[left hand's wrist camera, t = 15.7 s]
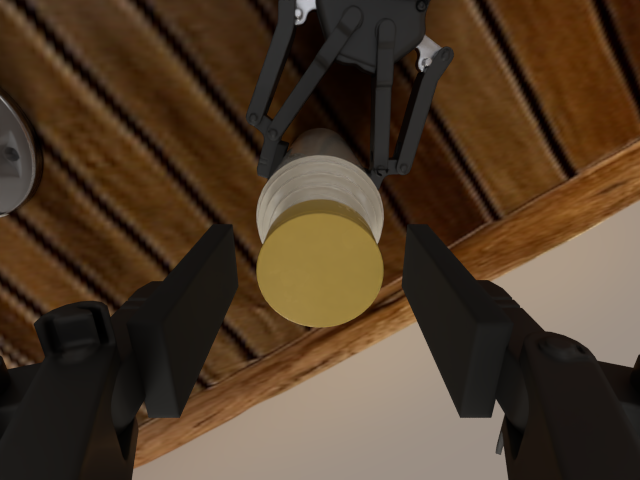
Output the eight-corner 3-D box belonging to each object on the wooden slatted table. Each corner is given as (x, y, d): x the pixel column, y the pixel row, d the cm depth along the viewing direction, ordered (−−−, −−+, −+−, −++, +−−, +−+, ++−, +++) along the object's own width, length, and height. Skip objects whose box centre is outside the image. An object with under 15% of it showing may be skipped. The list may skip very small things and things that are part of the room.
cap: (271, 189, 13) (264, 202, 12) (387, 209, 14) (398, 225, 12) (258, 292, 15) (250, 318, 13) (362, 308, 15) (368, 335, 13)
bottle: (355, 131, 36) (427, 188, 12) (347, 194, 38) (394, 348, 14) (290, 124, 35) (229, 170, 12) (286, 189, 38) (229, 335, 14)
